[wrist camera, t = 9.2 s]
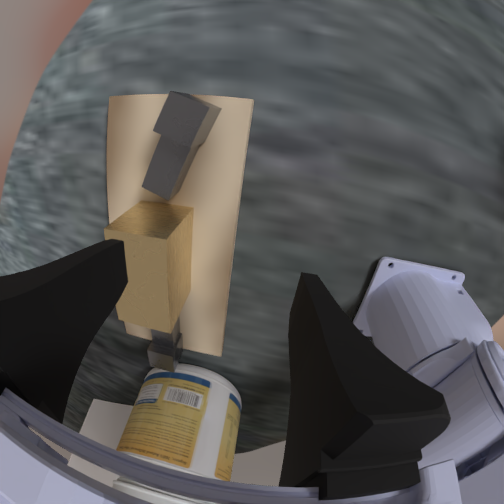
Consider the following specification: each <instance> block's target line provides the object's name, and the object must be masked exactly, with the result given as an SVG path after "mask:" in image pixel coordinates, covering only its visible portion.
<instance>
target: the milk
mask: <svg viewBox="0 0 504 504" xmlns="http://www.w3.org/2000/svg"><path fill="white" fill-rule="evenodd" d="M132 409H133V406H131V405H124V404H118V403H113V402H107V401H102V400H97V399H93V401H92V404H91V406H90V408H89V411H88V413H87V416H86V418H85V420H84V423H83V425H82V428H81V430H80V433H79V434H81V435H83V436H85V437H87V438H89V439H92V440H94V441H96V442H98V443H100V444H102V445H105V446H107V447H109V448H112V449H114V450H116V449H117V446H118V444H119V441H120V439H121V436H122V434H123V431H124V429H125V426H126V424H127V421H128V419H129V416H130V414H131V411H132ZM68 466H70V467H72V468H73V469H75V470H77V471H79V472H81V473H83V474H85V475H87V476H89V477H91V478H93V479H95V480H97V481H99V482H101V483H103V484H105V485H107V486H110V487H112V486H113V480H117V478H119V477H120V476H119V475H117V474H115V473H112V472H110V471H108V470H105V469H103V468H101V467H99V466H97V465H94V464H92V463H90V462H88V461H86V460H84V459H82V458H80V457H78V456H76V455H75V454H73V453H72V454H71V457H70V460H69V463H68Z"/></svg>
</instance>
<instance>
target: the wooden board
mask: <svg viewBox="0 0 504 504" xmlns="http://www.w3.org/2000/svg"><path fill="white" fill-rule="evenodd" d="M168 95H169V94H144V95H124V96H111V97H109V110H108V126H107V193H108V211H109V224H110V223H112V222H113V221H114V220H116V219H117V218H118V217H120V216H121V215H122V214H124V213H125V212H126V211H128V210H129V209H130V208H132V207H133V206H134V205H136V204H137V203H138V202H140V201H141V200H143V201H151V202H158V203H166V204H173V205H180V206H187V207H194V213H193V233H192V259H191V291H190V293H189V295H188V297H187V300H186V302H185V304H184V306H183V308H182V310H181V312H180V315H179V317H180V333H182V338H183V349H188V350H192V351H196V352H201V353H206V354H211V355H215V356H221V355H222V351H223V343H224V333H225V324H226V315H227V306H228V297H229V288H230V279H231V271H232V262H233V254H234V246H235V238H236V230H237V222H238V214H239V206H240V198H241V191H242V183H243V176H244V169H245V161H246V154H247V147H248V140H249V133H250V126H251V119H252V112H253V105H254V100H252V99H244V98H234V97H223V96H210V95H192V96H195V97H197V98H199V99H202V100H204V101H206V102H209V103H211V104H213V105H215V106H218V107H220V108H222V110H221V111H220V113H219V115H218V117H217V119H216V121H215V123H214V125H213V127H212V129H211V131H210V133H209V135H208V137H207V139H206V141H205V142H204V143H201V145H200V147H199V149H198V151H197V153H196V155H195V158H194V160H193V162H192V164H191V166H190V168H189V171H188V173H187V175H186V177H185V180H184V182H183V184H182V187H181V189H180V191H179V192H178V193H177V194H176V195H175V196H173V197H172V198H171V199H170V200H169V201H168V200H166V199H164V198H162V197H160V196H158V195H156V194H154V193H152V192H150V191H148V190H146V189H144V188H142V184H143V181H144V178H145V175H146V173H147V170H148V167H149V165H150V162H151V159H152V157H153V154H154V152H155V149H156V147H157V144H158V142H159V139H160V137H161V134H158V133H156V132H154V131H153V129H154V126H155V124H156V121H157V119H158V117H159V114H160V112H161V110H162V108H163V105H164V103H165V101H166V99H167V97H168ZM124 323H125V327H126V332H127V334H131V335H134V336H138V337H141V338H145V339H148V340H152V334H151V329H150V328H146V327H143V326H139V325H135V324H132V323H128V322H125V321H124Z"/></svg>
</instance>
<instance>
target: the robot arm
mask: <svg viewBox="0 0 504 504" xmlns="http://www.w3.org/2000/svg"><path fill="white" fill-rule="evenodd" d="M389 263H392V265H390V266H388V265H389ZM452 276H453V277H452ZM464 279H465V275H464V274H463V273H462V272H458V271H453V270H448V269H444V268H439V267H434V266H429V265H425V264H420V263H415V262H410V261H405V260H400V259H395V258H390V257H382V258H381V259H380V260H379V262H378V265H377V267H376V270H375V272H374V275H373V277H372V280H371V282H370V284H369V287H368V289H367V291H366V294H365V296H364V298H363V301H362V303H361V305H360V307H359V310H358V312H357V314H356V316H355V318H354V320H353V323H352V321H351V320H350V319H349V318H348V317H347V315H346V314H345V313H344V312H343V310H342V309H341V308H340V306H339V305H338V304H337V302H336V301H335V300H334V298H333V297H332V295H331V294H330V293H329V291H328V290H327V288H326V287H325V285H324V284H323V282H322V281H321V280H320V278H319V277H318V275H315V274H309V273H303V272H301V276H300V280H299V283H298V287H297V290H296V294H295V297H294V301H293V304H292V308H291V311H290V318H289V333H288V338H289V357H290V376H291V396H290V409H289V420H288V429H287V438H286V445H285V453H284V459H283V465H282V471H281V477H280V482H279V487H277V486H263V485H253V484H244V483H236V482H230V481H223V480H218V479H212V478H207V477H202V476H197V475H193V474H189V473H185V472H181V471H177V470H173V469H169V468H166V467H162V466H159V465H156V464H153V463H150V462H147V461H144V460H141V459H138V458H135V457H132V456H130V455H127V454H124V453H122V452H119V451H117V450H114V449H112V448H109V447H107V446H105V445H102V444H100V443H98V442H96V441H94V440H92V439H89V438H87V437H85V436H83V435H81V434H79V433H77V432H75V431H73V430H72V429H70V428H68V427H66V426H64V425H62V423H63V417H64V413H65V409H66V405H67V400H68V397H69V394H70V391H71V387H72V384H73V381H74V379H75V376H76V373H77V371H78V368H79V366H80V364H81V361H82V359H83V357H84V355H85V353H86V351H87V348H88V346H89V344H90V343H91V341H92V339H93V338H94V336H95V335H96V333H97V332H98V330H99V329H100V327H101V326H102V324H103V323H104V321H105V320H106V318H107V317H108V315H109V314H110V313H111V311H112V310H113V308H114V307H115V305H116V304H117V302H118V301H119V299H120V297H121V295H122V293H123V291H124V289H125V287H126V285H127V283H128V275H127V267H126V258H125V249H124V241H122V240H117V239H108V240H105V241H102V242H99V243H97V244H94V245H92V246H89V247H87V248H84V249H82V250H80V251H77V252H75V253H73V254H70V255H68V256H65V257H63V258H60V259H58V260H55V261H53V262H51V263H48V264H45V265H42V266H40V267H36V268H33V269H30V270H27V271H23V272H19V273H15V274H11V275H6V276H1V277H0V504H153V503H150V502H147V501H144V500H142V499H139V498H136V497H134V496H131V495H128V494H126V493H124V492H121V491H119V490H116V489H114V488H112V487H110V486H107V485H105V484H103V483H101V482H99V481H97V480H95V479H93V478H91V477H89V476H87V475H85V474H83V473H81V472H79V471H77V470H75V469H73V468H72V467H70V466H68V465H67V464H68V460H67V459H66V458H64V457H63V456H62V455H60V454H59V453H57V452H56V451H55V450H54V449H52V448H51V447H50V446H49V445H47V444H46V443H45V442H44V441H43V440H42V439H41V438H40V437H39V436H38V435H36V434H35V433H34V432H32V431H31V430H30V429H29V428H28V426H29V427H31V428H32V429H33V430H35V431H36V432H38V433H39V434H41V435H42V436H44V437H45V438H47V439H49V440H50V441H52V442H54V443H55V444H57V445H59V446H60V447H62V448H64V449H66V450H67V451H69V452H71V453H73V454H75V455H76V456H78V457H80V458H82V459H84V460H86V461H88V462H90V463H92V464H94V465H97V466H99V467H101V468H103V469H105V470H108V471H110V472H112V473H115V474H117V475H120V476H122V477H125V478H127V479H130V480H132V481H135V482H138V483H141V484H144V485H147V486H150V487H153V488H156V489H159V490H163V491H166V492H170V493H173V494H177V495H181V496H185V497H189V498H194V499H198V500H203V501H208V502H214V503H220V504H504V350H503V349H502V348H501V347H500V346H499V344H498V343H497V342H495V341H493V334H492V330H491V327H490V325H489V323H488V321H487V320H486V318H485V317H484V315H483V314H482V313H481V311H480V310H479V308H478V307H477V305H476V304H475V303H474V301H473V300H472V299H471V297H470V296H469V294H468V293H467V292H466V290H465V289H464V288H463V287H462V283H463V281H464ZM359 330H361V331H359ZM365 336H371V337H372V338H373V342H374V345H375V346H374V345H373V344H372V343H371V342H370V341H369V340H368V339H367V338H366V337H365Z"/></svg>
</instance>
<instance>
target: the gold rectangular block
mask: <svg viewBox="0 0 504 504" xmlns="http://www.w3.org/2000/svg"><path fill="white" fill-rule="evenodd" d="M193 213H194V207H187V206H180V205H173V204H166V203H158V202H151V201H143V200H141V201H140V202H138V203H137V204H136V205H134V206H133V207H132V208H130V209H129V210H128V211H126V212H125V213H124V214H122V215H121V216H120V217H118V218H117V219H116V220H114V221H113V222H112V223H110V224H109V225H108V226H107V227H105V228H104V234H105V240H108V239H117V240H122V241H124V249H125V258H126V267H127V275H128V283H127V285H126V287H125V289H124V291H123V293H122V295H121V297H120V299H119V301H118V302H117V304H116V309H117V314H118V318H119V320H122V321H125V322H128V323H132V324H135V325H139V326H143V327H146V328H150V329H154V330H158V331H162V332H166V333H170V334H171V332H172V330H173V328H174V325H175V323H176V321H177V319H178V317H179V315H180V312H181V310H182V308H183V306H184V304H185V302H186V300H187V297H188V295H189V293H190V291H191V259H192V233H193Z"/></svg>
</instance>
